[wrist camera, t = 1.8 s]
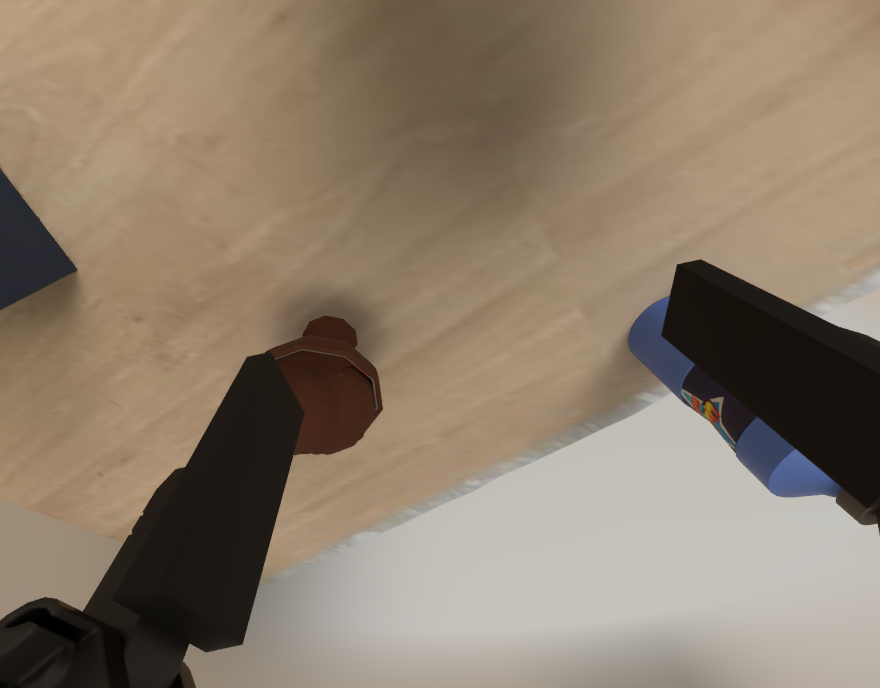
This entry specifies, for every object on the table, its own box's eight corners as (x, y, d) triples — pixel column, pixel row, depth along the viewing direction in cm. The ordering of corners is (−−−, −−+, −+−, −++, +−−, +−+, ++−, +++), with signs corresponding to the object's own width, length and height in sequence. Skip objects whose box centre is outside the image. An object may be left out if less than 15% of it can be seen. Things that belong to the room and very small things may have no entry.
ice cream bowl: (258, 355, 37) (194, 480, 24) (304, 270, 33) (254, 368, 20) (351, 393, 41) (336, 515, 29) (402, 322, 37) (411, 429, 24)
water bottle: (693, 276, 38) (1051, 471, 18) (713, 330, 43) (1016, 534, 22) (615, 327, 41) (851, 549, 20) (642, 372, 45) (856, 591, 25)
